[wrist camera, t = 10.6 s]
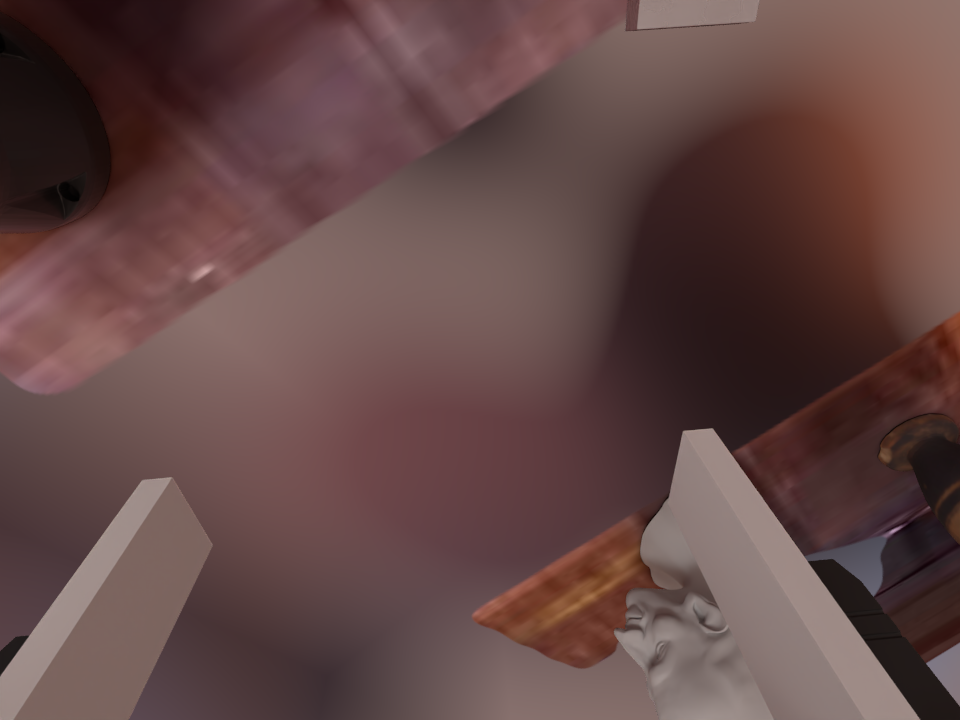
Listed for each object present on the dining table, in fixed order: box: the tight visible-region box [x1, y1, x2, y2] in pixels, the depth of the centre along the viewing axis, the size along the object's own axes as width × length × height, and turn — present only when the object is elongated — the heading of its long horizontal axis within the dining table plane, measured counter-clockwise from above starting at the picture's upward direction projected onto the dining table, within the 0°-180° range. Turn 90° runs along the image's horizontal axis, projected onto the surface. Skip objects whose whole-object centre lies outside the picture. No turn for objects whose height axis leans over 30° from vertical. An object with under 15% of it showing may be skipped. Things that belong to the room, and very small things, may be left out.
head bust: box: [614, 498, 774, 720], centre depth 55 cm, size 22×19×25 cm
